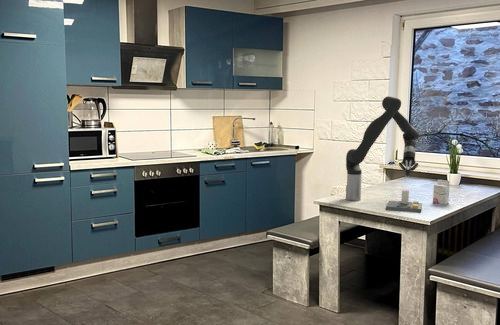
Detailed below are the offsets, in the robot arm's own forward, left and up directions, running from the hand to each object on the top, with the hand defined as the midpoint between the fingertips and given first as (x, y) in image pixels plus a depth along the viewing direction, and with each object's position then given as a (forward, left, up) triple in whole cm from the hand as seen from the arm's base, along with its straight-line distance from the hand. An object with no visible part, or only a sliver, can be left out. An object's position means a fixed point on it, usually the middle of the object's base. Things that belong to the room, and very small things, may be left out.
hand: (407, 175), depth 327 cm
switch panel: (0, -23, -17) cm, 29 cm away
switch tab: (0, -19, -15) cm, 24 cm away
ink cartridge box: (+21, +1, -17) cm, 27 cm away
